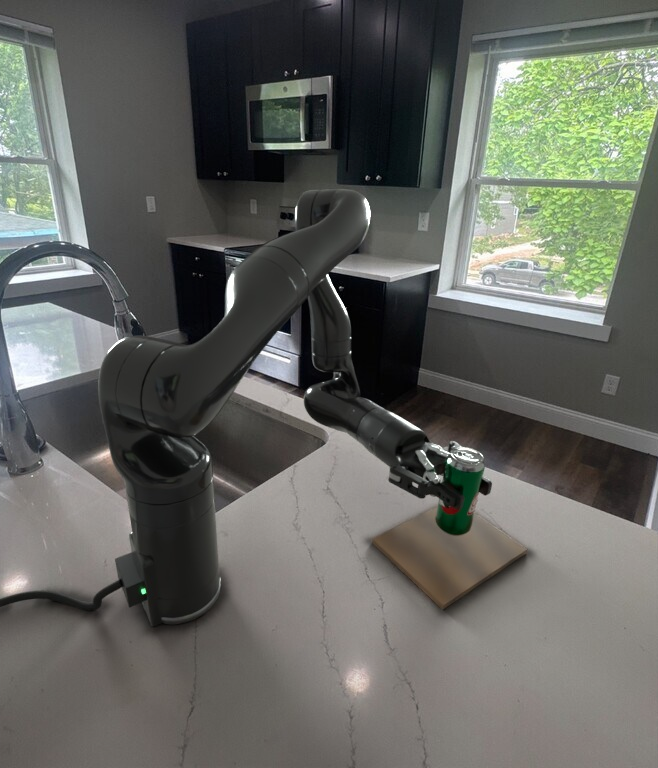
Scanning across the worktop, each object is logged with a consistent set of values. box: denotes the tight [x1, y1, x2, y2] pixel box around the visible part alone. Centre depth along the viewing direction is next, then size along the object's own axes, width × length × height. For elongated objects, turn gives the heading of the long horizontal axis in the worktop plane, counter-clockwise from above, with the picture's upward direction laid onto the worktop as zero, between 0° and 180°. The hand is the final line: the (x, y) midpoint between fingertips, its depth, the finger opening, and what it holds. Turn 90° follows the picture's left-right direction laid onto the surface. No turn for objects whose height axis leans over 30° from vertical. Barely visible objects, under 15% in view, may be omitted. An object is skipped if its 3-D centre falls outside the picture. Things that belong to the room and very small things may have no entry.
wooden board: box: [371, 505, 528, 611], centre depth 68 cm, size 18×14×1 cm
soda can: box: [435, 446, 486, 536], centre depth 65 cm, size 5×5×12 cm
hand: (475, 496), depth 62 cm, fingers closed on soda can, 5 cm apart
